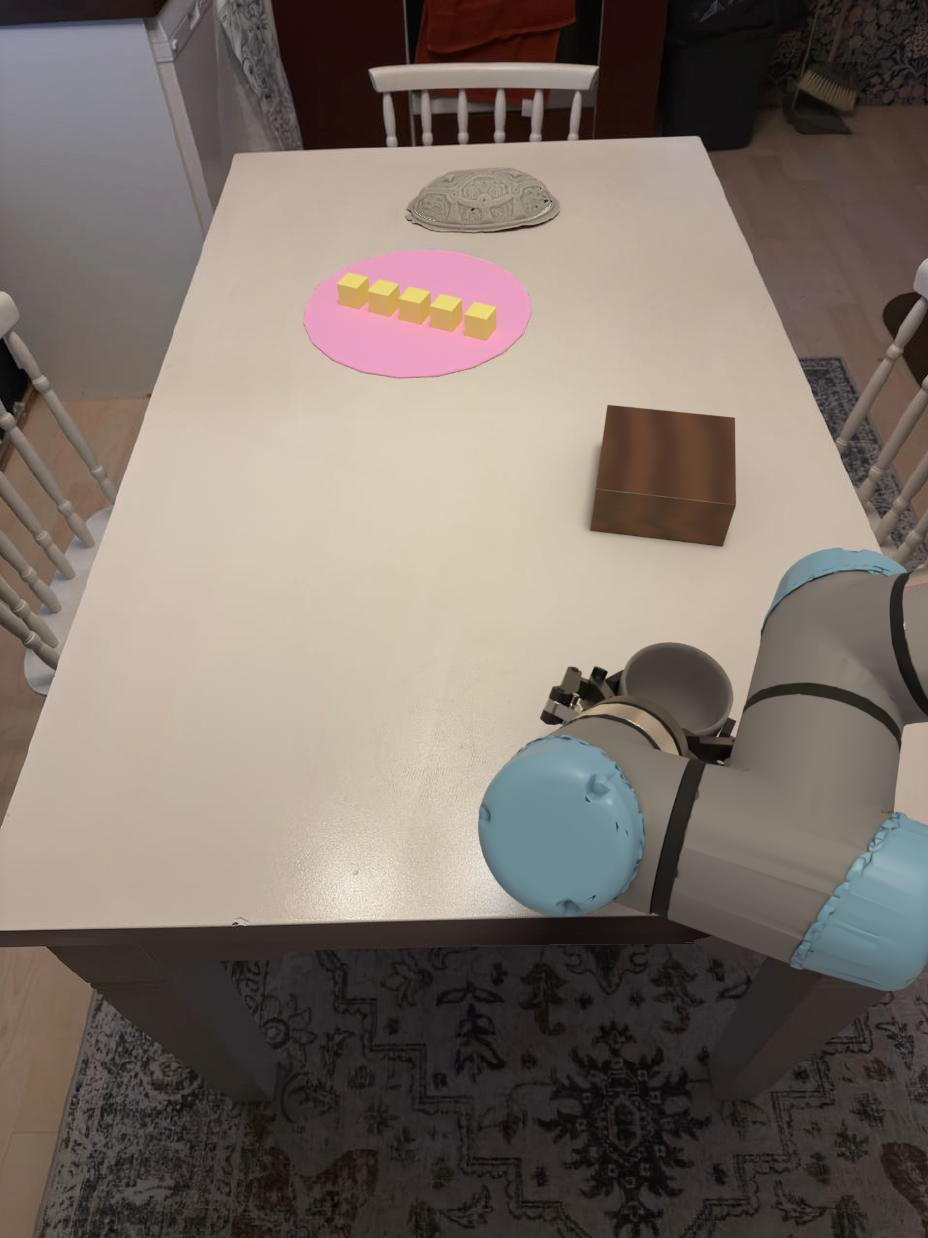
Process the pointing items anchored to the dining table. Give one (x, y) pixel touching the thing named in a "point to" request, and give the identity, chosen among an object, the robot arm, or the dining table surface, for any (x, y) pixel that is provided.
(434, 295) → the platter
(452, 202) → the grey domed piece
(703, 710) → the mug
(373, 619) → the dining table surface
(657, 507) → the riser
